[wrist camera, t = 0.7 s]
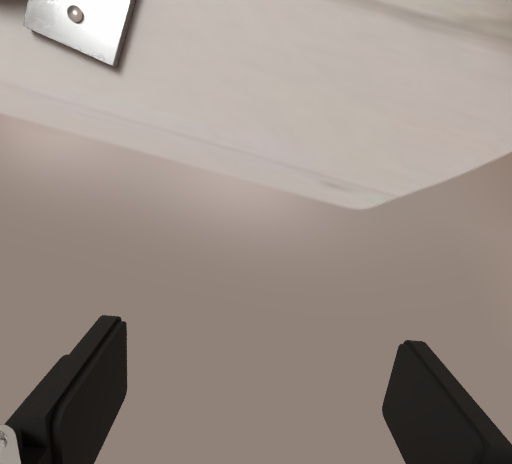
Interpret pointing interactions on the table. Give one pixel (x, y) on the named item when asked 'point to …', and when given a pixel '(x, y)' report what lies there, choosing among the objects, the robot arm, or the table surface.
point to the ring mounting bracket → (83, 25)
